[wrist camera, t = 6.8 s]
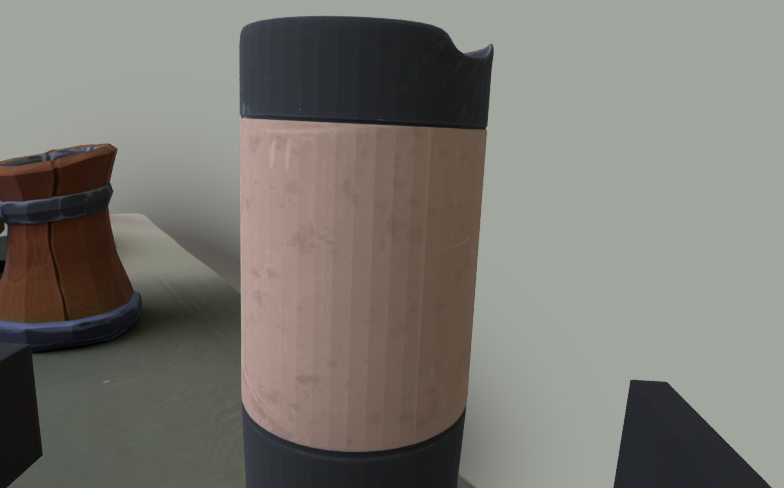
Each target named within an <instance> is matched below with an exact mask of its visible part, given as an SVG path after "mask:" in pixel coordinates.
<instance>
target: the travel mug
mask: <svg viewBox="0 0 784 488" xmlns="http://www.w3.org/2000/svg"><path fill="white" fill-rule="evenodd" d="M239 48H240V115H241V117H242V118H241V119H240V207H241V380H242V414H243V433H244V452H245V471H246V488H457V480H458V471H459V463H460V454H461V446H462V438H463V429H464V421H465V413H466V402H467V394H468V392H467V391H468V379H469V365H470V353H471V338H472V326H473V312H474V298H475V284H476V271H477V256H478V243H479V231H480V217H481V203H482V190H483V176H484V162H485V149H486V136H487V131H486V130H485V129H486V127H487V122H488V109H489V96H490V82H491V69H492V61H493V52H494V51H493V45H492V44H490V45H488V46H487V47H486V48H484V49H481V50H478V51H474V52H469V53H462V52H460V51H459V50H458V49H457V48H456V47H455V45H454V44H453V42H452V40H451V38H450V36H449V35H448V34H447V33H446V32H445V31H444V30H443V29H441V28H438V27H435V26H433V25H430V24H425V23H420V22H414V21H407V20H398V19H385V18H372V17H351V16H300V17H284V18H274V19H268V20H261V21H257V22H253V23H251V24H248V25H246V26H245V27H243V29H242V31H241V35H240V47H239Z"/></svg>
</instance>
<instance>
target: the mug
mask: <svg viewBox="0 0 784 488" xmlns="http://www.w3.org/2000/svg"><path fill="white" fill-rule="evenodd" d="M116 153H117V148H115V147H114V146H112V145H111V144H98V145H81V146H75V147H70V148H65V149H60V150H51V151H48V152H46V153H43V154H38V155H32V156H26V157H19V158H13V159H9V160H4V161H0V234H1V233H2V232H3V231H4V230H5V224H7V227H8V229H7V251H6V262H5V267H4V272H3V274H2V277H1V280H0V343H17V344H31V352H38V351H45V350H52V349H59V348H67V347H74V346H80V345H85V344H91V343H97V342H102V341H108V340H112V339H114V338H115V337H117V336H119V335H120V334H122V333H124V332H126V331H127V330H129V329H131V328H132V327H133V326H134V325H135V323H136V321H137V319H138V317H139V316H140V314H141V312H142V300H141V295H140V293H138V292H135V291H133V288H132V285H131V283H130V280H129V278H128V276H127V274H126V272H125V270H124V267H123V265H122V263H121V261H120V258H119V256H118V254H117V251H116V247H115V243H114V238H113V234H112V229H111V223H110V218H109V210H108V204H109V202H110V199H111V196H112V193H113V189H112V187H111V184H110V178H111V174H112V169H113V165H114V161H115V157H116Z"/></svg>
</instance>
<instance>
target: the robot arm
mask: <svg viewBox="0 0 784 488" xmlns="http://www.w3.org/2000/svg"><path fill="white" fill-rule="evenodd" d="M42 455H43V453H42V444H41V435H40V426H39V417H38V408H37V399H36V390H35V380H34V371H33V362H32V353H31V344H17V343H0V488H7V487H8V486H9V485H10V484H11V483H12V482H13V481H14V480H15V479H17V478H18V477H19V476H20V475H21V474H22V473H23V472H24V471H26V470H27V469H28V468H29V467H30V466H31V465H32V464H33V463H34V462H36V461H37V460H38V459H39V458H40V457H41V456H42ZM614 488H771V487H770V486H769V485H768V484H767V483H766V481H765V480H763V478H762V477H761V476H760V475H759V474H758V473H757V472H756V471H754V469H753V468H752V467H751V466H750V465H749V464H747V462H746V461H745V460H744V459H743V458H742V457H741V456H740V455H738V453H737V452H736V451H735V450H734V449H733V448H732V447H731V446H730V445H729V444H728V443H727V442H726V441H725V440H724V439H723V438H722V437H721V436H720V435H719V434H718V433H717V432H716V431H715V430H714V429H713V428H712V427H711V426H710V425H709V424H708V423H707V422H706V421H705V420H704V419H703V418H702V417H701V416H700V415H699V414H698V413H697V412H696V411H695V410H694V409H693V408H692V407H691V406H690V405H689V404H688V403H687V402H686V401H685V400H684V399H683V398H682V397H681V396H680V395H679V394H678V393H677V392H676V391H675V390H674V389H673V388H672V387H671V386H670V385H669V384H668V383H667V382H659V381H642V380H631V381H630V387H629V393H628V400H627V406H626V412H625V419H624V425H623V431H622V438H621V444H620V450H619V457H618V463H617V469H616V476H615V482H614Z"/></svg>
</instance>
